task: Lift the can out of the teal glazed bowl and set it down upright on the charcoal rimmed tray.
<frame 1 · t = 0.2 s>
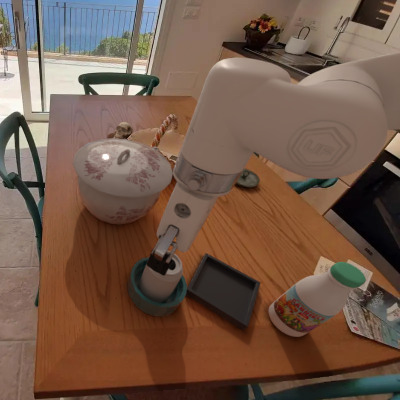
hand: (168, 250, 45), 22 cm above the table, tool pointing down, fingers open, 9 cm apart
chamber pot: (114, 207, 85), on the table
can: (153, 290, 64), resting on bowl
tray: (221, 290, 65), on the table
milk bottle: (285, 320, 61), on the table
bowl: (153, 290, 64), on the table
lid: (241, 181, 99), on the table
skull: (120, 140, 116), on the table
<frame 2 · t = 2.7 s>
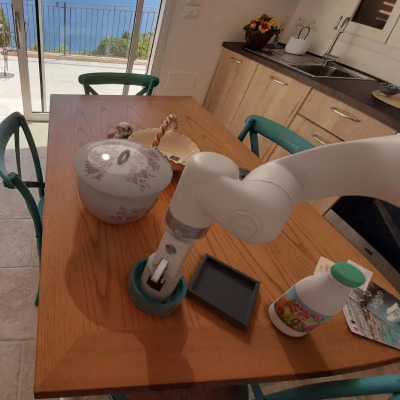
hand: (161, 273, 59), 8 cm above the table, tool pointing down, fingers closed on can, 7 cm apart
can: (153, 290, 64), resting on bowl, touching gripper
everything else where it was.
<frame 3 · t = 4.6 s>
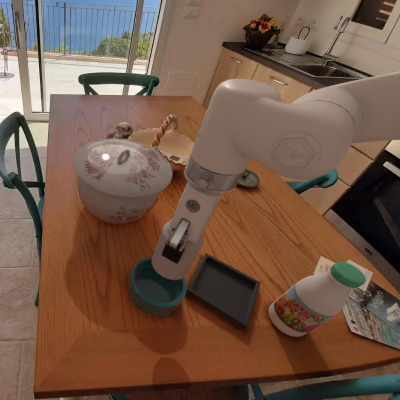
hand: (178, 244, 51), 19 cm above the table, tool pointing down, fingers closed on can, 7 cm apart
can: (168, 267, 56), point 11 cm above the table, touching gripper
everything else where it was.
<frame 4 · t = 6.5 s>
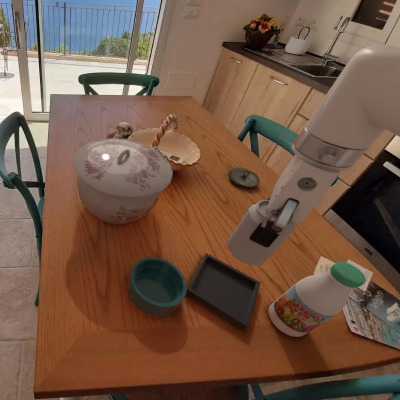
hand: (263, 228, 50), 23 cm above the table, tool pointing down, fingers closed on can, 7 cm apart
can: (244, 252, 55), point 15 cm above the table, touching gripper
everything else where it was.
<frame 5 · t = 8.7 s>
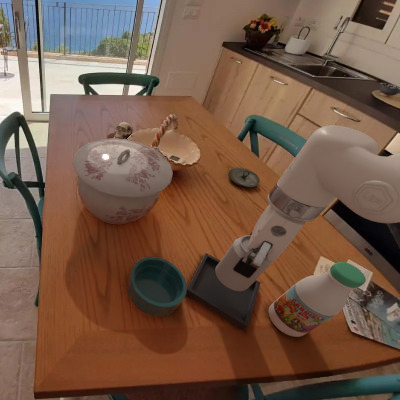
hand: (245, 259, 57), 13 cm above the table, tool pointing down, fingers closed on can, 7 cm apart
can: (230, 278, 62), point 5 cm above the table, touching gripper
everything else where it was.
when the fingers open (8 cm above the table, at t = 10.5 s): can stays where it is, resting on tray.
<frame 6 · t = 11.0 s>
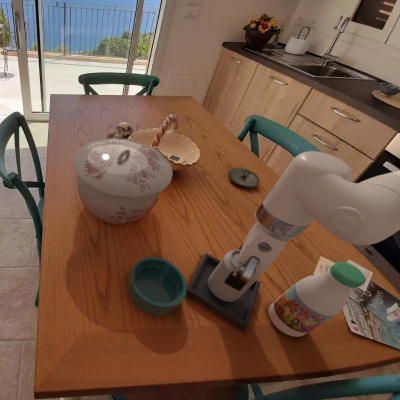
hand: (237, 270, 59), 9 cm above the table, tool pointing down, fingers open, 9 cm apart
can: (221, 289, 65), resting on tray
everything else where it was.
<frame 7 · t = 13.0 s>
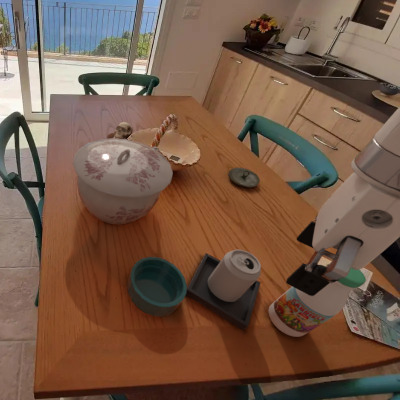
hand: (303, 264, 39), 27 cm above the table, tool pointing down, fingers open, 9 cm apart
nothing on the table moved.
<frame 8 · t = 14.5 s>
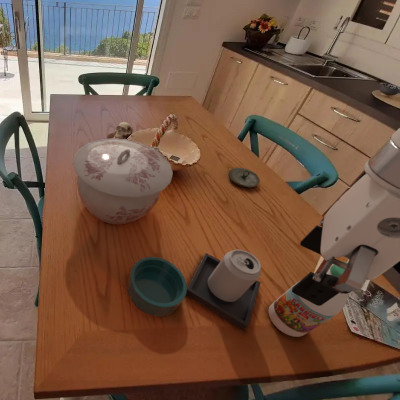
hand: (308, 271, 37), 28 cm above the table, tool pointing down, fingers open, 9 cm apart
nothing on the table moved.
at the end: can inside the target area in the tray (0.0 cm from its centre), point 0.4 cm above the tray's base; can tilted 0°; the gripper is holding nothing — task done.
